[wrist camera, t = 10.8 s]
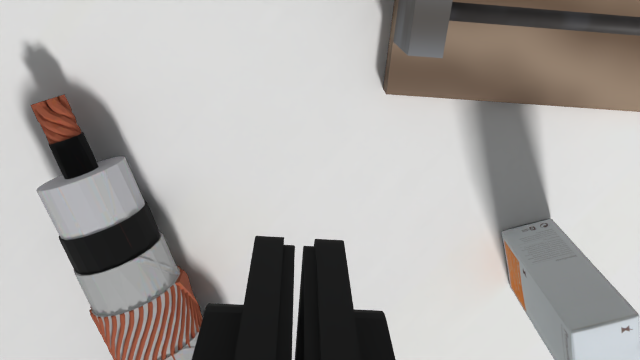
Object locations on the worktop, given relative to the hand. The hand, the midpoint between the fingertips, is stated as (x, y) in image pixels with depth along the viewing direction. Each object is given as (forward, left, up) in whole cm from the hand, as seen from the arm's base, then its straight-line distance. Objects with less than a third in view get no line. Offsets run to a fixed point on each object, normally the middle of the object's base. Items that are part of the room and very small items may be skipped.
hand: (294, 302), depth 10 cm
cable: (+20, -10, -28) cm, 35 cm away
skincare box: (+15, +20, -27) cm, 37 cm away
